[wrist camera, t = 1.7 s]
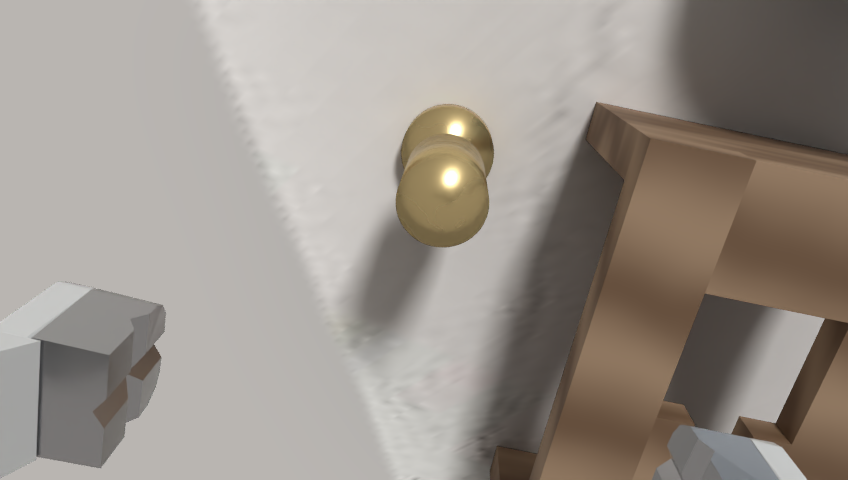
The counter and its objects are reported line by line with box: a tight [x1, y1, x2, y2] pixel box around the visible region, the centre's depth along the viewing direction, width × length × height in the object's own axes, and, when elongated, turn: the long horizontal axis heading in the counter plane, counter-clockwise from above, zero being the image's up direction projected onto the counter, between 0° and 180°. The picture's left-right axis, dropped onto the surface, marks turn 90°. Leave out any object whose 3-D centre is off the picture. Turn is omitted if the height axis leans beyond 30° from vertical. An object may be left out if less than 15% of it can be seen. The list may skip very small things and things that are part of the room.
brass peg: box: [396, 104, 494, 247], centre depth 29 cm, size 5×5×10 cm
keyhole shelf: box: [490, 102, 848, 480], centre depth 32 cm, size 24×14×10 cm, turn 169°
